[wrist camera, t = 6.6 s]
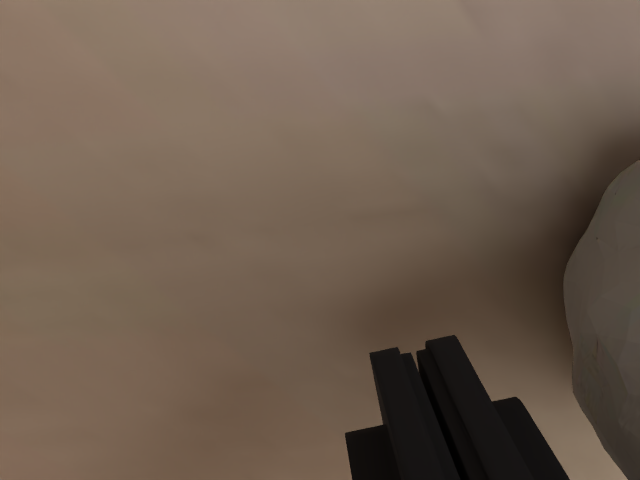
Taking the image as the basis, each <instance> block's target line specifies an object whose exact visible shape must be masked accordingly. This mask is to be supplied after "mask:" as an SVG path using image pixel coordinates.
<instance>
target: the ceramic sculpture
mask: <svg viewBox="0 0 640 480" xmlns="http://www.w3.org/2000/svg"><path fill="white" fill-rule="evenodd" d="M563 296H564V304H565V312H566V319H567V324H568V328H569V333H570V337H571V341H572V345H573V349H574V351H573V367H572V385H573V394H574V396H575V398H576V400H577V402H578V404H579V406H580V408H581V409H582V411H583V412H584V414H585V415H586V417H587V418H588V420H589V421H590V423H591V424H592V426H593V428H594V430H595V432H596V434H597V436H598V438H599V439H600V441H601V443H602V445H603V447H604V449H605V450H606V451H607V453H608V454H609V455H610V457H611V458H612V459H613V461H614V462H615V463H616V464H617V466H618V467H619V468H620V470H621V471H622V472H623V473H624V475H625V476H626V477H627V479H628V480H640V160H638V161H637V162H635V163H634V164H632V165H631V166H629V167H628V168H626V169H625V170H623V171H621V172H620V173H619V175H618V176H617V177H616V178H615V179H614V180H613V182H612V183H611V184H610V185H609V186H608V188H607V189H606V191H605V192H604V194H603V196H602V198H601V201H600V203H599V205H598V207H597V210H596V212H595V214H594V216H593V218H592V220H591V222H590V224H589V226H588V228H587V230H586V232H585V233H584V235H583V236H582V238H581V239H580V241H579V242H578V244H577V246H576V248H575V250H574V252H573V253H572V255H571V257H570V259H569V261H568V263H567V266H566V270H565V274H564V279H563Z"/></svg>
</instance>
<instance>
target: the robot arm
mask: <svg viewBox="0 0 640 480" xmlns="http://www.w3.org/2000/svg"><path fill="white" fill-rule="evenodd" d="M425 347H426V349H424V350H419V351H417V352H416V355H417V362H418V368H419V372H418V369H417V367H416V364H415V361H414V359H413V356H412V354H411V352H409V353H404V354H400V351H399V349H398V347H395V348H390V349H385V350H381V351H376V352H371V353H369V354H370V360H371V365H372V370H373V375H374V380H375V385H376V390H377V395H378V400H379V405H380V410H381V415H382V420H383V425H380V426H375V427H370V428H366V429H361V430H356V431H352V432H347V433H345V438H346V444H347V450H348V456H349V462H350V468H351V474H352V480H570V479H569V477H568V476H567V474H566V473H565V471H564V469H563V468H562V466H561V464H560V463H559V461H558V460H557V458H556V456H555V455H554V453H553V451H552V450H551V448H550V447H549V445H548V443H547V442H546V440H545V438H544V437H543V435H542V434H541V432H540V430H539V429H538V427H537V426H536V424H535V422H534V421H533V419H532V417H531V416H530V414H529V413H528V411H527V409H526V408H525V406H524V405H523V403H522V402H521V401H520V399H518V398H517V397H512V398H507V399H502V400H498V401H493V402H492V401H491V399H490V398H489V396H488V394H487V392H486V390H485V388H484V386H483V385H482V383H481V381H480V379H479V377H478V375H477V374H476V372H475V370H474V368H473V366H472V364H471V363H470V361H469V359H468V357H467V355H466V353H465V352H464V350H463V348H462V346H461V344H460V342H459V340H458V339H457V337H456V336H455V335H451V336H447V337H442V338H437V339H433V340H428V341H426V342H425Z"/></svg>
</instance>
